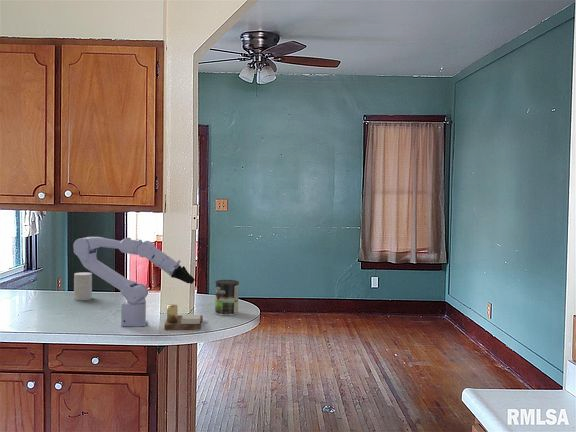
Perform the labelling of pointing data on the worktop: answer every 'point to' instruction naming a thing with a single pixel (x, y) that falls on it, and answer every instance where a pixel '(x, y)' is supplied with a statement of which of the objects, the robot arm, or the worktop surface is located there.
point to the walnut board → (182, 325)
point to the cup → (83, 286)
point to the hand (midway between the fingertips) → (191, 281)
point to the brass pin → (172, 313)
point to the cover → (190, 319)
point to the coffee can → (226, 297)
